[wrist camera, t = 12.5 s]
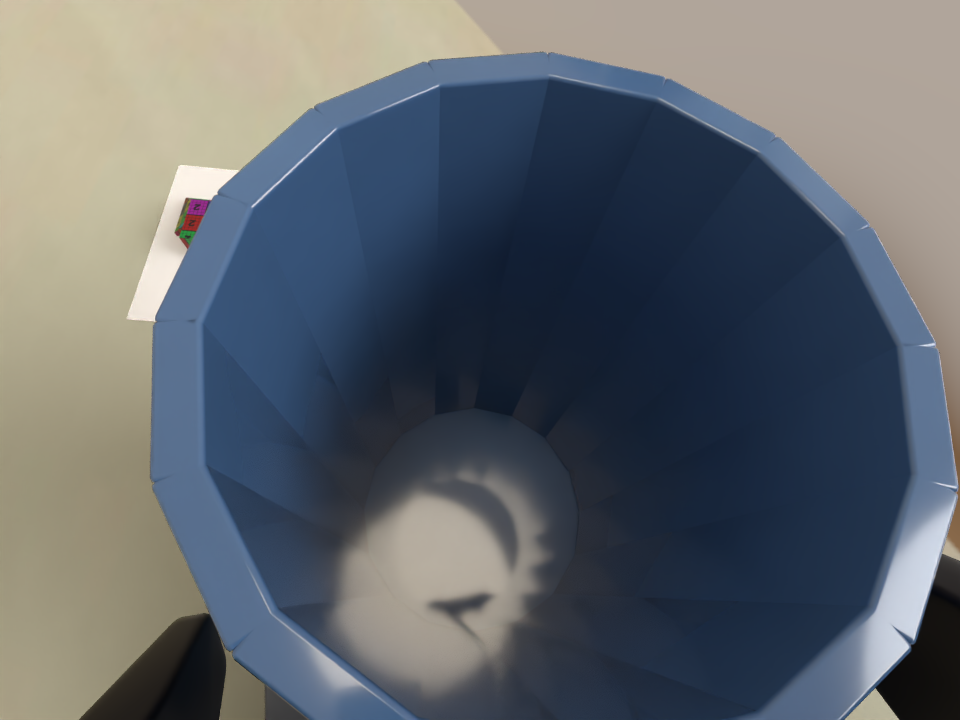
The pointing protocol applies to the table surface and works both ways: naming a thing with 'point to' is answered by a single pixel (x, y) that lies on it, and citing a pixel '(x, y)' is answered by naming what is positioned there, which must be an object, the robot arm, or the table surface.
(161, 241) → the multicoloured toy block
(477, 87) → the cup
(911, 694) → the robot arm
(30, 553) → the table surface
